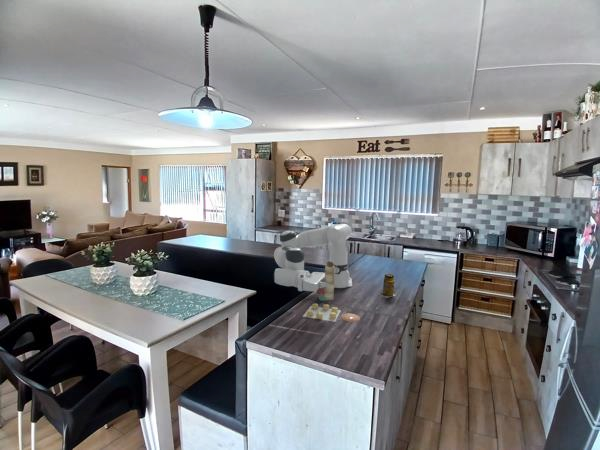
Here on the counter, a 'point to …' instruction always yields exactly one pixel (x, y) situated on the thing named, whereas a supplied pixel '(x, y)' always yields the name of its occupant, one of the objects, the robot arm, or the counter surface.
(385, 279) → the condiment
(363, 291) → the counter surface
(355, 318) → the coaster
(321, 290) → the cupcake
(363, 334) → the counter surface
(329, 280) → the pepper mill
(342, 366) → the counter surface
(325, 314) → the mat
